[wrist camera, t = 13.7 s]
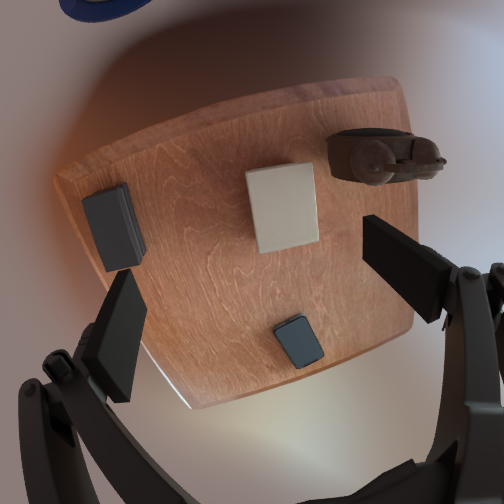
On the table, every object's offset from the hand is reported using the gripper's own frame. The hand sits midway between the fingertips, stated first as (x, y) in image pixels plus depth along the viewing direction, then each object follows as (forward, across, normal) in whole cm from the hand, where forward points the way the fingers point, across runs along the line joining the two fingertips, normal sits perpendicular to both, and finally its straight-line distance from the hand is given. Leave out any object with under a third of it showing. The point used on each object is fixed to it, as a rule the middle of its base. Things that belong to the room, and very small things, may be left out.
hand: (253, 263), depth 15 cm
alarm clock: (+31, +22, +1) cm, 38 cm away
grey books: (+31, -18, -4) cm, 36 cm away
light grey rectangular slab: (+28, +8, -7) cm, 30 cm away
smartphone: (+31, +9, -38) cm, 50 cm away
